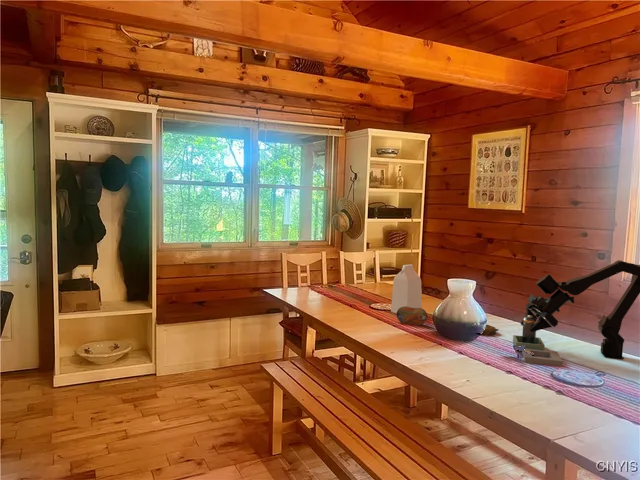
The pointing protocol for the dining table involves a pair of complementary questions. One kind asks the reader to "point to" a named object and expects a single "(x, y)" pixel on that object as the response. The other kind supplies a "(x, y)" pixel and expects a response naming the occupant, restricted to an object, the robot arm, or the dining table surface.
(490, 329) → the decorative rock
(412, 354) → the dining table surface
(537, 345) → the cup
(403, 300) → the milk
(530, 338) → the battery cell
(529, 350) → the tester cradle
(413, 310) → the tin
